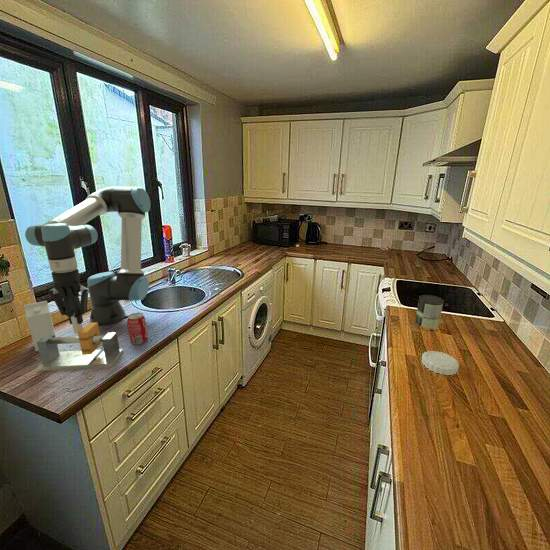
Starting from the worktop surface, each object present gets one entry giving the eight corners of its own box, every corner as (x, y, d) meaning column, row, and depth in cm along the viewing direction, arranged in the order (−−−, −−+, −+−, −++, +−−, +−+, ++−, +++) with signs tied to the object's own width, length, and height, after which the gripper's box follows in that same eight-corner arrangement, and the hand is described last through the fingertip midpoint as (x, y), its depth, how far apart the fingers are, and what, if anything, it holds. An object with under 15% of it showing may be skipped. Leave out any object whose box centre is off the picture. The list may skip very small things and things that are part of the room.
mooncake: (454, 361, 109) (455, 353, 108) (460, 380, 99) (462, 371, 98) (419, 354, 113) (420, 346, 112) (422, 372, 103) (424, 363, 102)
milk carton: (35, 344, 118) (23, 302, 112) (56, 339, 122) (46, 298, 117) (35, 351, 113) (23, 308, 107) (57, 345, 117) (47, 303, 112)
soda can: (143, 335, 126) (139, 310, 122) (151, 340, 122) (148, 315, 118) (127, 341, 121) (122, 316, 117) (135, 347, 116) (130, 321, 113)
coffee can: (410, 324, 138) (414, 297, 134) (421, 319, 144) (426, 293, 140) (431, 333, 130) (436, 304, 126) (442, 327, 136) (448, 299, 131)
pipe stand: (38, 370, 101) (31, 345, 98) (56, 355, 111) (50, 331, 108) (111, 367, 104) (107, 342, 101) (123, 351, 113) (119, 328, 110)
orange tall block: (82, 354, 102) (77, 332, 100) (93, 343, 110) (89, 322, 107) (91, 354, 103) (86, 332, 100) (101, 342, 110) (97, 322, 107)
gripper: (36, 273, 93) (53, 337, 100) (78, 272, 94) (92, 335, 101) (51, 267, 100) (65, 327, 107) (90, 266, 101) (102, 325, 108)
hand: (78, 331), depth 104 cm, fingers closed
